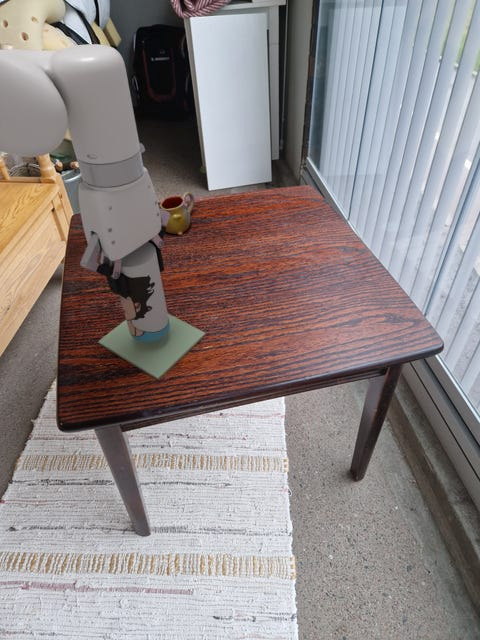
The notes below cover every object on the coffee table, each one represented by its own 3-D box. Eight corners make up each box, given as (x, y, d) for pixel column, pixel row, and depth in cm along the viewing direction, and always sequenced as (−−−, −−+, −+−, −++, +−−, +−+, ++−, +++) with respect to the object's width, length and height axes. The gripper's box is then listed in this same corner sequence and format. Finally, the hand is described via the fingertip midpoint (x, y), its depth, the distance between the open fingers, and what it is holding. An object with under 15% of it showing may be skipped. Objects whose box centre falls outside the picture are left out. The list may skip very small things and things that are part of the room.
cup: (146, 308, 74) (129, 235, 63) (177, 321, 71) (165, 247, 61) (121, 332, 70) (98, 258, 59) (153, 347, 67) (135, 272, 57)
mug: (179, 238, 95) (176, 212, 91) (155, 231, 98) (150, 205, 93) (207, 214, 103) (205, 188, 98) (184, 208, 105) (181, 182, 101)
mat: (158, 380, 66) (158, 378, 66) (98, 343, 72) (97, 341, 72) (206, 335, 73) (205, 332, 73) (147, 305, 79) (147, 302, 79)
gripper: (140, 137, 58) (159, 246, 70) (31, 186, 48) (76, 303, 60) (181, 149, 55) (194, 260, 67) (74, 204, 45) (112, 323, 57)
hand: (138, 280), depth 64 cm, fingers closed on cup, 6 cm apart
